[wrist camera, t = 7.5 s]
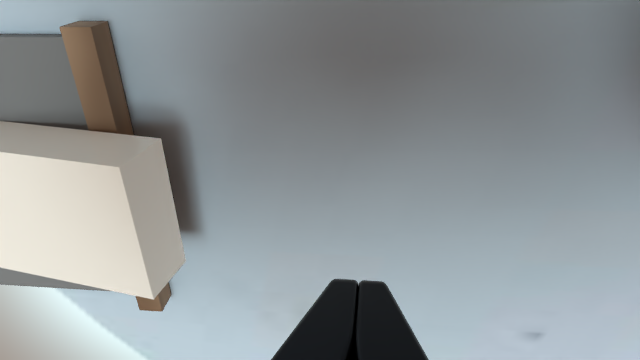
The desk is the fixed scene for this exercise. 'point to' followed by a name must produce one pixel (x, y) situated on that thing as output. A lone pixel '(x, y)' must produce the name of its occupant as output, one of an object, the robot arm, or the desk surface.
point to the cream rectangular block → (88, 208)
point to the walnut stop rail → (102, 95)
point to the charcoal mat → (38, 107)
